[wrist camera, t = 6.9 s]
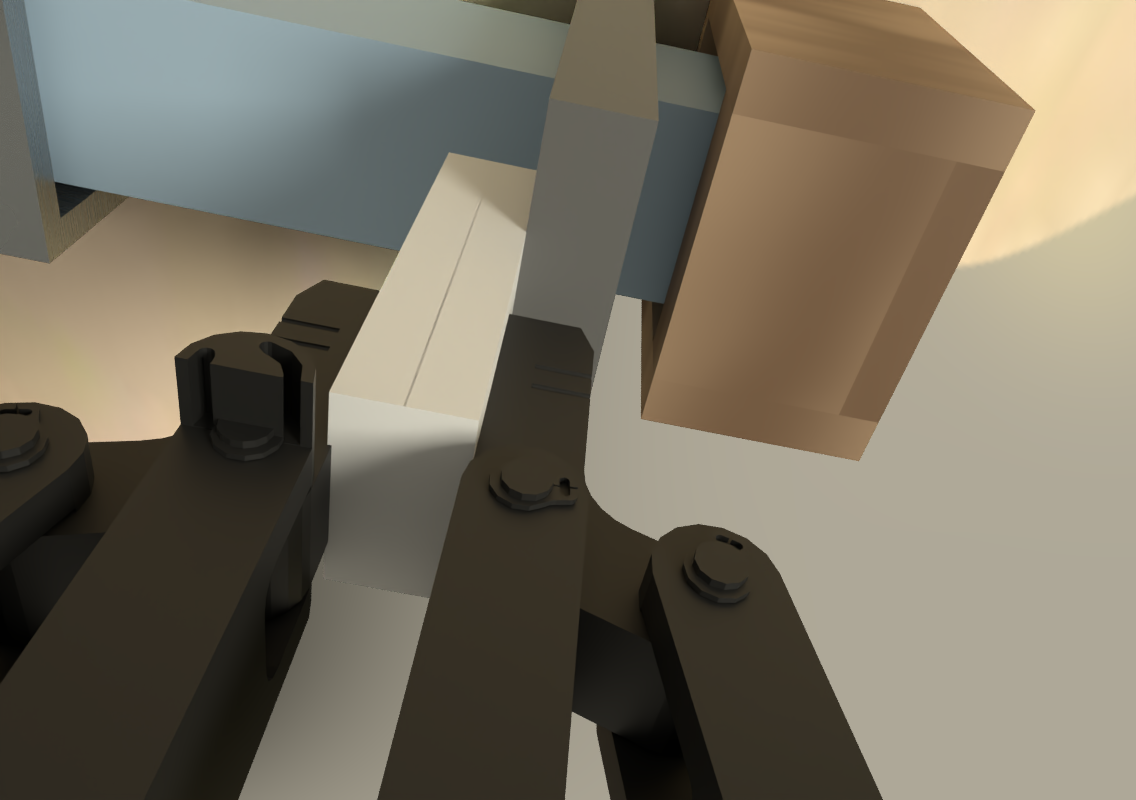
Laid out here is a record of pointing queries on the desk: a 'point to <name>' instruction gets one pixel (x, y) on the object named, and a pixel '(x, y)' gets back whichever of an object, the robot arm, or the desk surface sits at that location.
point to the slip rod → (392, 123)
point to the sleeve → (34, 159)
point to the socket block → (823, 219)
